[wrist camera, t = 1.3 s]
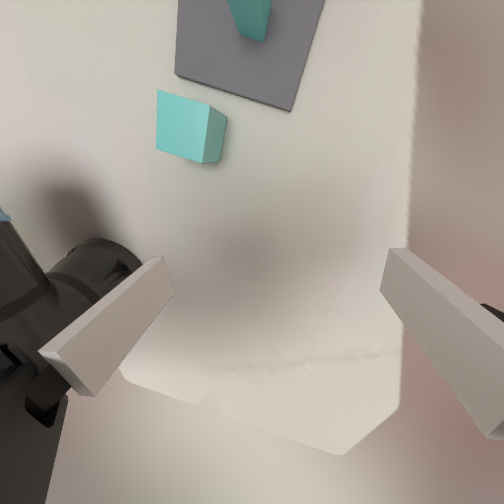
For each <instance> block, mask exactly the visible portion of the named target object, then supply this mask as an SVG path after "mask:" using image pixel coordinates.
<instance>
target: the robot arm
mask: <svg viewBox="0 0 504 504" xmlns="http://www.w3.org/2000/svg"><path fill="white" fill-rule="evenodd" d="M11 220H12V219H11V217H10V216H8V215H6V214H5V213H4V212H3V210H2V209H1V208H0V504H45V501H46V497H47V492H48V488H49V483H50V479H51V475H52V470H53V466H54V462H55V457H56V453H57V448H58V444H59V439H60V435H61V431H62V426H63V422H64V417H65V413H66V409H67V404H68V396H67V395H66V394H65V393H66V392H67V391H68V390H69V389H70V388H71V387H72V388H73V389H74V390H75V391H76V392H77V394H79V395H80V396H90V397H96V395H97V394H98V393H99V391H100V390H101V389H102V387H103V386H104V385H105V384H106V382H107V381H108V380H109V378H110V377H111V376H112V374H113V373H114V372H115V370H116V369H117V368H118V366H119V365H120V364H121V362H122V361H123V360H124V358H125V357H126V356H127V354H128V353H129V352H130V350H131V349H132V348H133V347H134V345H135V344H136V343H137V341H138V340H139V339H140V337H141V336H142V335H143V333H144V332H145V331H146V329H147V328H148V327H149V325H150V324H151V323H152V321H153V320H154V319H155V317H156V316H157V315H158V313H159V312H160V311H161V310H162V308H163V307H164V306H165V304H166V303H167V302H168V300H169V299H170V298H171V296H172V295H173V294H174V292H175V288H174V285H173V283H172V280H171V277H170V274H169V272H168V269H167V266H166V263H165V261H164V258H163V257H152V258H151V259H149V260H148V261H147V262H146V263H145V264H143V265H142V264H141V263H140V262H139V260H138V259H137V258H136V257H135V256H134V255H133V254H132V253H130V252H129V251H128V250H127V249H125V248H124V247H122V246H120V245H118V244H116V243H114V242H111V241H108V240H103V239H92V240H88V241H86V242H84V243H81V244H79V245H77V246H75V247H74V248H73V249H71V250H70V251H69V253H68V254H67V256H66V257H64V258H63V259H62V260H61V261H60V262H58V263H57V264H56V265H55V266H54V267H53V268H52V269H51V270H50V271H49V272H47V273H44V272H43V270H42V269H41V267H40V266H39V264H38V263H37V261H36V260H35V258H34V257H33V255H32V254H31V252H30V251H29V249H28V248H27V246H26V245H25V243H24V242H23V240H22V239H21V237H20V236H19V234H18V233H17V231H16V230H15V228H14V227H13V225H12V224H11V222H10V221H11ZM380 292H381V293H382V295H383V296H384V297H385V299H386V300H387V301H388V303H389V304H390V306H391V307H392V308H393V310H394V311H395V313H396V314H397V315H398V317H399V318H400V320H401V321H402V322H403V324H404V325H405V327H406V328H407V329H408V331H409V332H410V333H411V335H412V336H413V337H414V339H415V340H416V342H417V343H418V344H419V346H420V347H421V349H422V350H423V352H424V353H425V354H426V356H427V357H428V359H429V360H430V361H431V363H432V364H433V365H434V367H435V368H436V370H437V371H438V372H439V374H440V375H441V377H442V378H443V379H444V381H445V382H446V383H447V385H448V386H449V388H450V389H451V390H452V392H453V393H454V395H455V396H456V397H457V399H458V400H459V402H460V403H461V404H462V406H463V407H464V409H465V410H466V411H467V412H468V414H469V415H470V417H471V418H472V420H473V421H474V422H475V424H476V425H477V427H478V428H479V429H480V431H481V432H482V434H483V435H484V436H485V438H491V439H499V440H504V313H503V312H501V311H499V310H497V309H495V308H493V307H491V306H489V305H486V304H479V303H477V302H476V301H475V300H473V299H472V298H471V297H469V296H468V295H467V294H466V293H464V292H463V291H461V290H460V289H459V288H458V287H456V286H455V285H453V284H452V283H451V282H450V281H448V280H447V279H446V278H445V277H443V276H442V275H441V274H439V273H438V272H437V271H435V270H434V269H433V268H431V267H430V266H429V265H427V264H426V263H425V262H423V261H422V260H421V259H420V258H418V257H417V256H415V255H414V254H413V253H412V252H410V251H409V250H408V249H406V248H389V252H388V256H387V261H386V265H385V269H384V273H383V277H382V282H381V286H380Z"/></svg>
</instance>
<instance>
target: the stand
mask: <svg viewBox="0 0 504 504" xmlns="http://www.w3.org/2000/svg"><path fill="white" fill-rule="evenodd" d="M323 3H324V0H178V17H177V35H176V54H175V72H174V74H176V75H177V76H178V77H181V78H184V79H188V80H191V81H194V82H197V83H200V84H203V85H206V86H210V87H213V88H216V89H219V90H222V91H225V92H229V93H232V94H235V95H238V96H241V97H244V98H247V99H251V100H254V101H257V102H260V103H263V104H266V105H269V106H273V107H276V108H279V109H282V110H285V111H288V112H290V111H291V108H292V105H293V101H294V98H295V95H296V91H297V88H298V85H299V82H300V78H301V75H302V72H303V68H304V65H305V62H306V59H307V55H308V52H309V49H310V45H311V42H312V39H313V35H314V32H315V29H316V26H317V22H318V19H319V16H320V12H321V9H322V6H323Z"/></svg>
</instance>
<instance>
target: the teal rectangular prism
mask: <svg viewBox="0 0 504 504" xmlns="http://www.w3.org/2000/svg"><path fill="white" fill-rule="evenodd" d="M226 121H227V117H226V116H225V115H223V114H222V113H220V112H219V111H217V110H216V109H214V108H212V107H211V106H209V105H206V104H203V103H200V102H196V101H193V100H190V99H187V98H184V97H181V96H177V95H174V94H171V93H168V92H165V91H162V90H159V89H158V91H157V138H156V149H158V150H161V151H164V152H167V153H170V154H174V155H177V156H180V157H183V158H186V159H189V160H193V161H196V162H199V163H209V162H216V161H220V156H221V150H222V145H223V139H224V133H225V127H226Z"/></svg>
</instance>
